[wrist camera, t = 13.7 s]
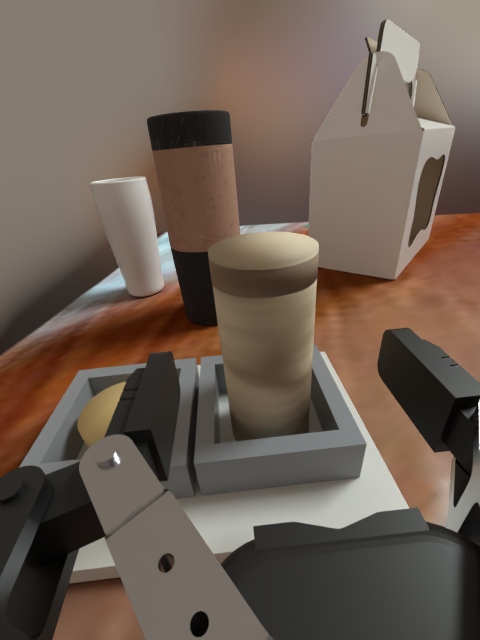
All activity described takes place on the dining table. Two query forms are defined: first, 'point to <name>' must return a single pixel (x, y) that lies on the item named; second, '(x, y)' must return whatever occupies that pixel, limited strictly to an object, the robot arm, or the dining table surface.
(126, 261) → the white cylinder
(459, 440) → the robot arm
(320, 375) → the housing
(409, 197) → the gable box
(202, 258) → the travel mug
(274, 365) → the lidded cup
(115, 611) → the dining table surface
